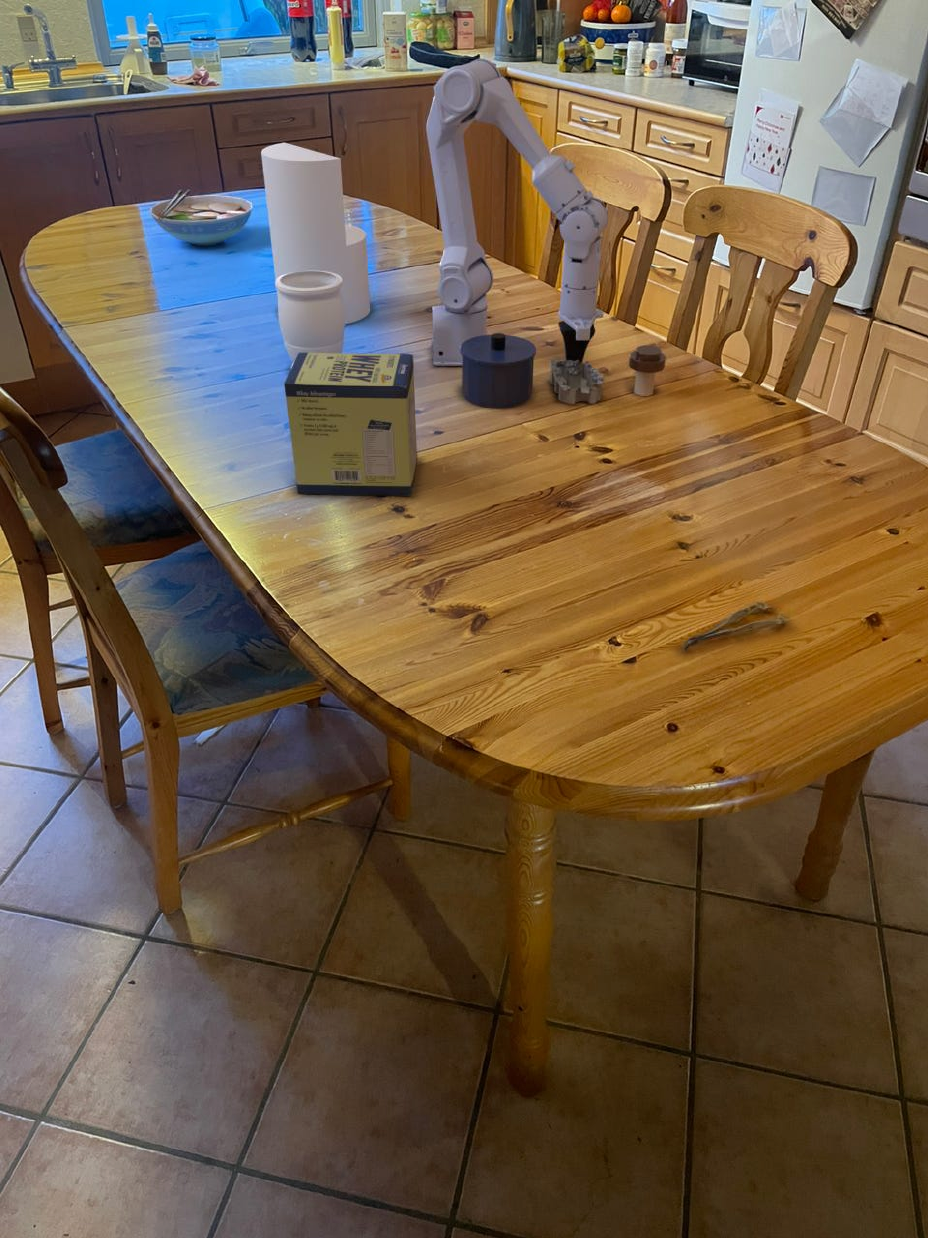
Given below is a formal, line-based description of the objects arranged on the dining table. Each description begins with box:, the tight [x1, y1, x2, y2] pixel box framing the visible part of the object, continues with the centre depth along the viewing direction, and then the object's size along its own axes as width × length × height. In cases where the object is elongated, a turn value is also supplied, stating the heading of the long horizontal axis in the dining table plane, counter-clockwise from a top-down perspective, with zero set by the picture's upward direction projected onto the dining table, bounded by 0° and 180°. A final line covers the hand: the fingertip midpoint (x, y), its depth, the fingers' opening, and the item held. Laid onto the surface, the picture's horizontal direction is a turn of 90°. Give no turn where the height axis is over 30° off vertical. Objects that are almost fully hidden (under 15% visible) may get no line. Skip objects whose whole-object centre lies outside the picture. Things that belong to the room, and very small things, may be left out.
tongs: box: [682, 601, 788, 652], centre depth 101 cm, size 4×13×2 cm, turn 123°
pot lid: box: [460, 332, 537, 366], centre depth 146 cm, size 12×12×3 cm
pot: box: [461, 356, 535, 409], centre depth 149 cm, size 11×11×7 cm
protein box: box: [283, 352, 418, 497], centre depth 124 cm, size 10×16×16 cm
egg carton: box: [549, 357, 605, 405], centre depth 151 cm, size 11×8×4 cm
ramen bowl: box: [149, 189, 253, 247], centre depth 215 cm, size 25×23×8 cm
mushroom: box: [628, 345, 667, 397], centre depth 150 cm, size 6×6×7 cm
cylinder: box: [260, 142, 371, 325], centre depth 173 cm, size 17×17×28 cm
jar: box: [274, 270, 346, 369], centre depth 154 cm, size 11×10×15 cm
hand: (573, 367), depth 156 cm, fingers closed
